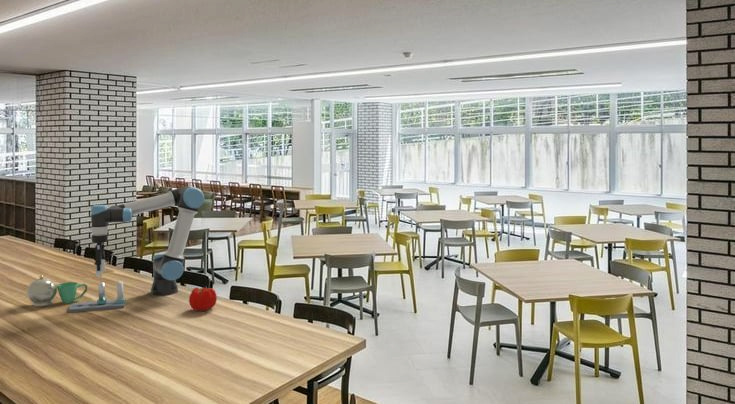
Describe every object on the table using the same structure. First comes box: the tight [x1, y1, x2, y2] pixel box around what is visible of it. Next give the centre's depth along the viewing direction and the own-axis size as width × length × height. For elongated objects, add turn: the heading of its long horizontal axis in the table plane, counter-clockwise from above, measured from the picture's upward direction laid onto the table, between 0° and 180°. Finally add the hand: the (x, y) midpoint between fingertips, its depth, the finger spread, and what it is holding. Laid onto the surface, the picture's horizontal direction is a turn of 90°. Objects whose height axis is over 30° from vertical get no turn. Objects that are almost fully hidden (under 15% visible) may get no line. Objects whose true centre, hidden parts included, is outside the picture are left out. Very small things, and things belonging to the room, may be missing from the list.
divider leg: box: [96, 282, 108, 304], centre depth 282 cm, size 4×3×11 cm
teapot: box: [26, 274, 58, 308], centre depth 284 cm, size 18×14×16 cm
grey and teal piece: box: [67, 281, 126, 313], centre depth 282 cm, size 26×12×12 cm, turn 111°
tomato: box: [188, 287, 218, 312], centre depth 279 cm, size 13×14×12 cm
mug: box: [56, 281, 88, 304], centre depth 292 cm, size 15×10×10 cm
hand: (100, 274), depth 281 cm, fingers open, 13 cm apart
